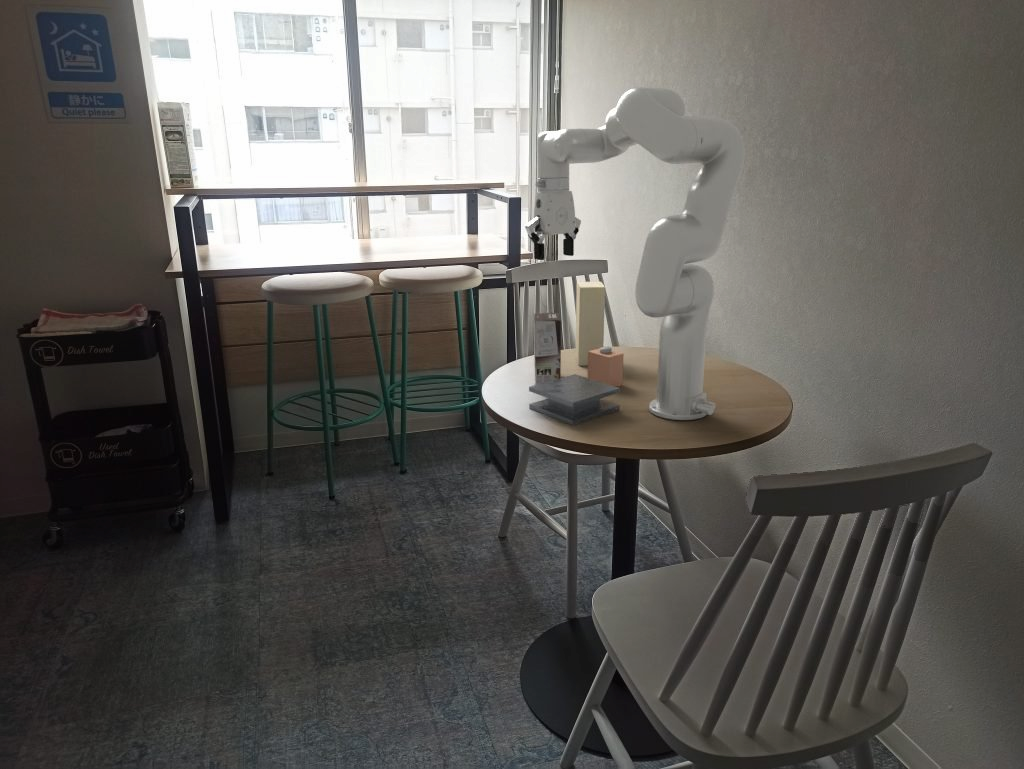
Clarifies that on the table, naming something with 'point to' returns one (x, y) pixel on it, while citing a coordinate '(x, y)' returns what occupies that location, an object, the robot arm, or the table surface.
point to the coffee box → (547, 347)
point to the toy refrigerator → (589, 319)
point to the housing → (606, 366)
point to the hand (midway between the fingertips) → (554, 257)
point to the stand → (574, 399)
